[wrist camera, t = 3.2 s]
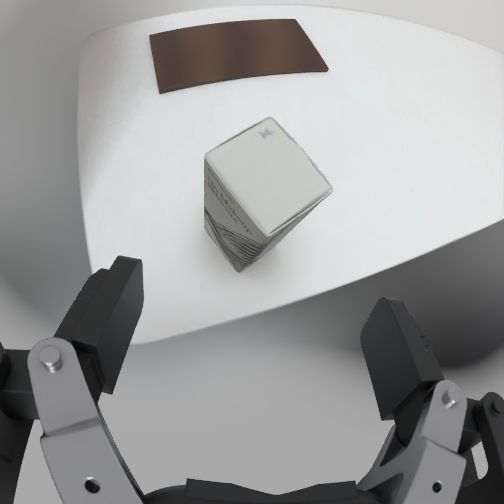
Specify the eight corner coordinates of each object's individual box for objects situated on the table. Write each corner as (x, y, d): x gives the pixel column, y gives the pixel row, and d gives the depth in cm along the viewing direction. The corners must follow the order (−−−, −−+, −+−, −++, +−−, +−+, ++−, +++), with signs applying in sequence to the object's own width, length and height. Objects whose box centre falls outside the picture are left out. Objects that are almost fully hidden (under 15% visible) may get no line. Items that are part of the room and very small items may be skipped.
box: (202, 227, 26) (195, 149, 13) (243, 199, 27) (269, 109, 14) (240, 277, 25) (266, 240, 13) (280, 246, 26) (338, 187, 14)
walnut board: (159, 93, 28) (159, 90, 28) (149, 38, 30) (149, 35, 29) (327, 71, 32) (328, 68, 31) (294, 21, 33) (295, 19, 33)
